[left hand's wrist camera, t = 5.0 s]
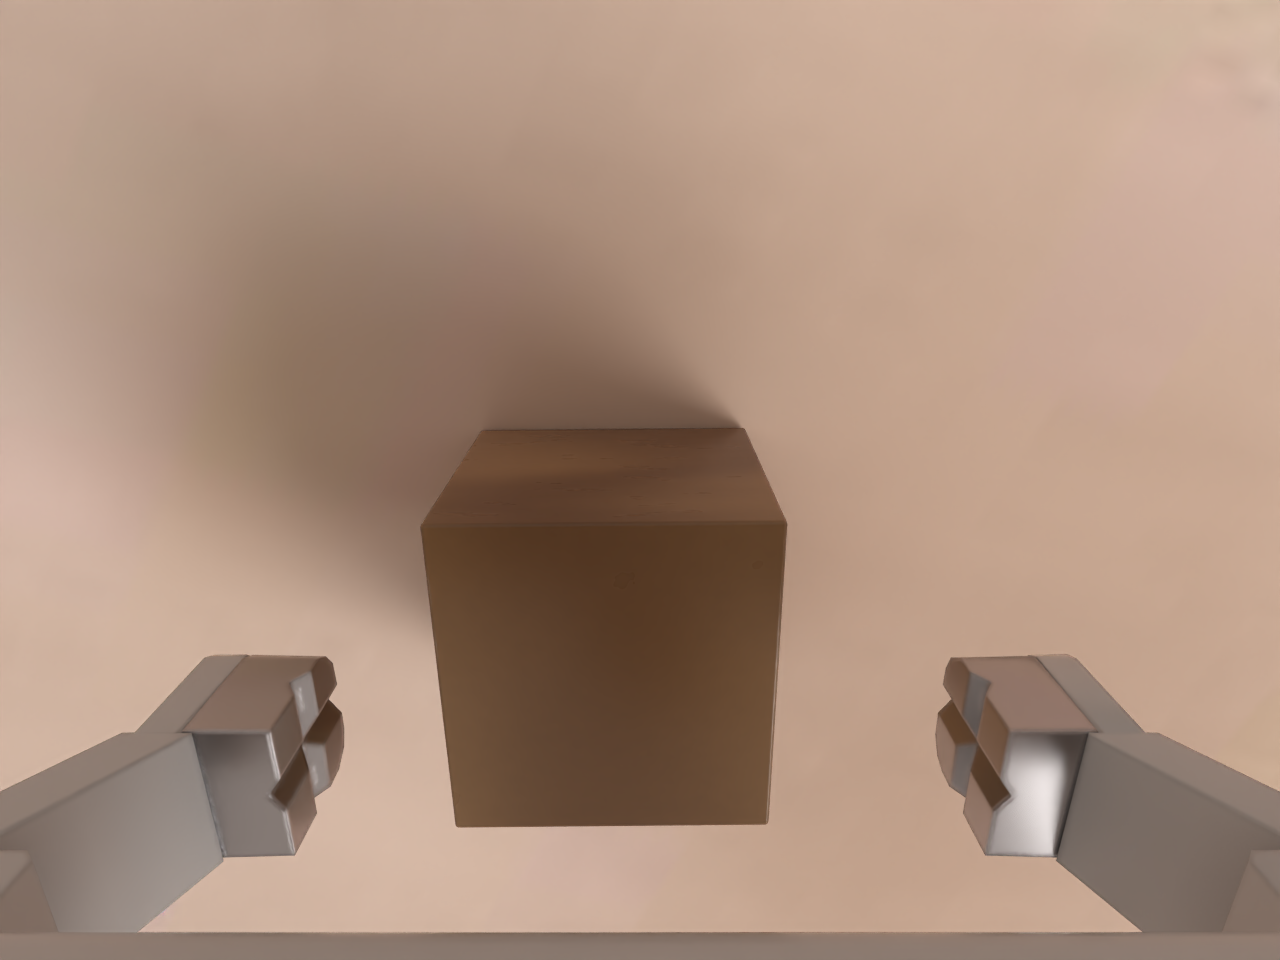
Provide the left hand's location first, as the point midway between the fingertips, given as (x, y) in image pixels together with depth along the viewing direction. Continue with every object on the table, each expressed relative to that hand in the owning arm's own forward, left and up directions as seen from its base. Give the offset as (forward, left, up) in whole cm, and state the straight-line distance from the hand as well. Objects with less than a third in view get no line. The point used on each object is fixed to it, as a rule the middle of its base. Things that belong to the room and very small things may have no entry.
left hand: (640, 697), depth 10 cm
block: (0, 0, -5) cm, 5 cm away
